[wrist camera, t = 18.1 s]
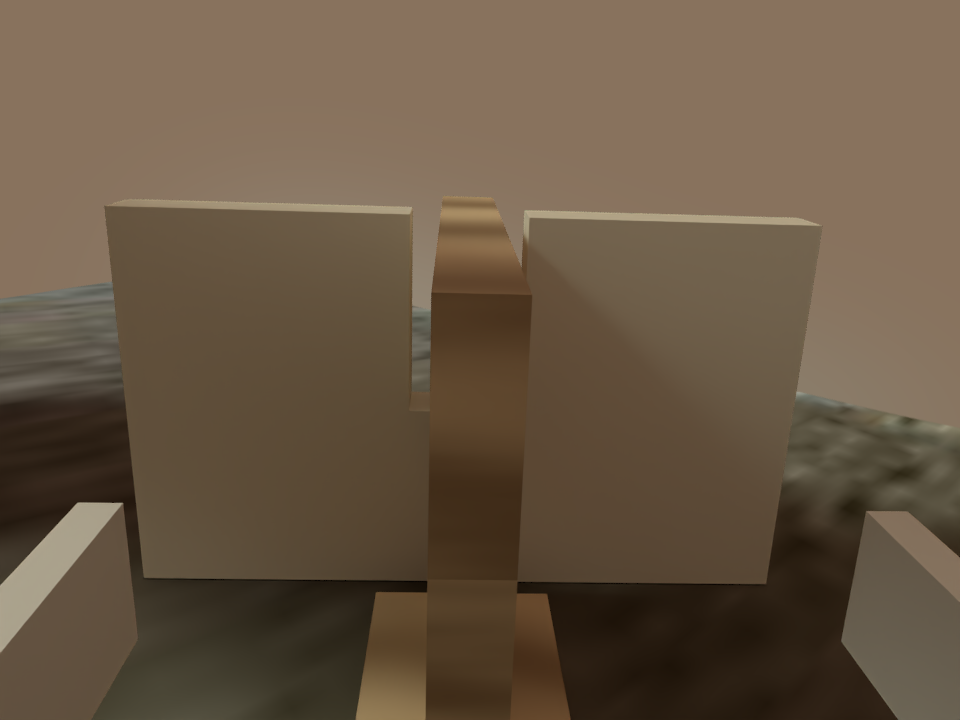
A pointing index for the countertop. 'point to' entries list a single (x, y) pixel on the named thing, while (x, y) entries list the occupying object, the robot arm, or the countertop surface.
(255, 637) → the countertop surface
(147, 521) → the cream board
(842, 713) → the countertop surface
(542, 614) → the brown angled piece
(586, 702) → the countertop surface
